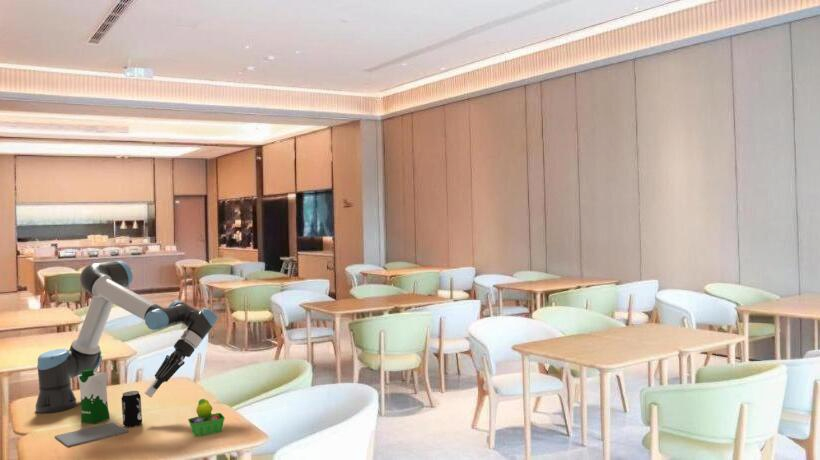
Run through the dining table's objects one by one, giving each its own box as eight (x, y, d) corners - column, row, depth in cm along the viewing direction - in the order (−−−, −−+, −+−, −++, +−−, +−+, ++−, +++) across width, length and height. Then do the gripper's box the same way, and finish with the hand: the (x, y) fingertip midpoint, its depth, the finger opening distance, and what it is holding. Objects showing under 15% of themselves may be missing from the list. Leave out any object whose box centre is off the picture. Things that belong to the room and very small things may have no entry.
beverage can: (135, 427, 250) (133, 395, 249) (119, 427, 251) (117, 395, 251) (145, 422, 256) (143, 390, 256) (130, 422, 257) (128, 390, 257)
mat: (54, 437, 243) (54, 435, 243) (112, 423, 256) (112, 422, 256) (68, 447, 231) (67, 445, 231) (128, 432, 244) (128, 430, 244)
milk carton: (77, 423, 260) (74, 370, 259) (97, 416, 268) (94, 365, 267) (94, 425, 256) (90, 372, 255) (113, 418, 264) (110, 366, 264)
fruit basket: (192, 438, 233) (190, 405, 233) (187, 432, 241) (186, 400, 241) (226, 432, 239) (224, 400, 238) (220, 425, 247) (218, 394, 246)
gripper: (173, 336, 271) (133, 387, 260) (187, 339, 261) (146, 392, 251) (187, 347, 275) (148, 397, 264) (201, 351, 265) (161, 403, 254)
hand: (147, 395), depth 257 cm, fingers closed
